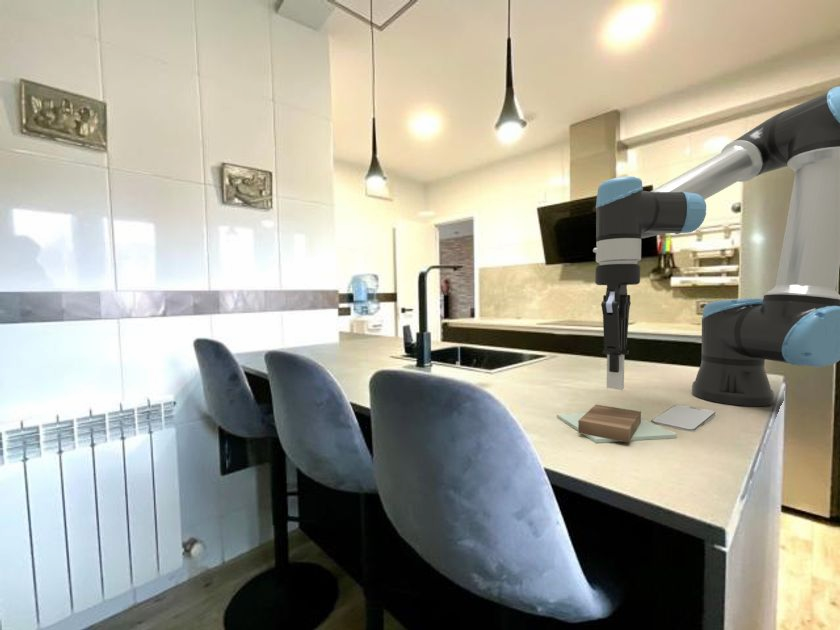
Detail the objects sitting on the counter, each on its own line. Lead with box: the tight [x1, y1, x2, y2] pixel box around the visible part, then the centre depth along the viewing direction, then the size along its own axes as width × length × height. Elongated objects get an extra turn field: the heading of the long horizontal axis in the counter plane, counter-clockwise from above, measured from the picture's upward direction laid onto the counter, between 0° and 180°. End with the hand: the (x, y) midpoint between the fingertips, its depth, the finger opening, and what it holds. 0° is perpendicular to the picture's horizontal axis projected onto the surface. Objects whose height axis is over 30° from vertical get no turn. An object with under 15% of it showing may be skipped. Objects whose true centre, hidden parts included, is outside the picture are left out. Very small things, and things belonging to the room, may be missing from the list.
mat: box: [556, 412, 678, 444], centre depth 74 cm, size 15×14×1 cm
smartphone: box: [650, 404, 716, 432], centre depth 78 cm, size 7×1×15 cm
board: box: [577, 404, 642, 443], centre depth 71 cm, size 2×8×12 cm
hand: (615, 388), depth 74 cm, fingers closed
